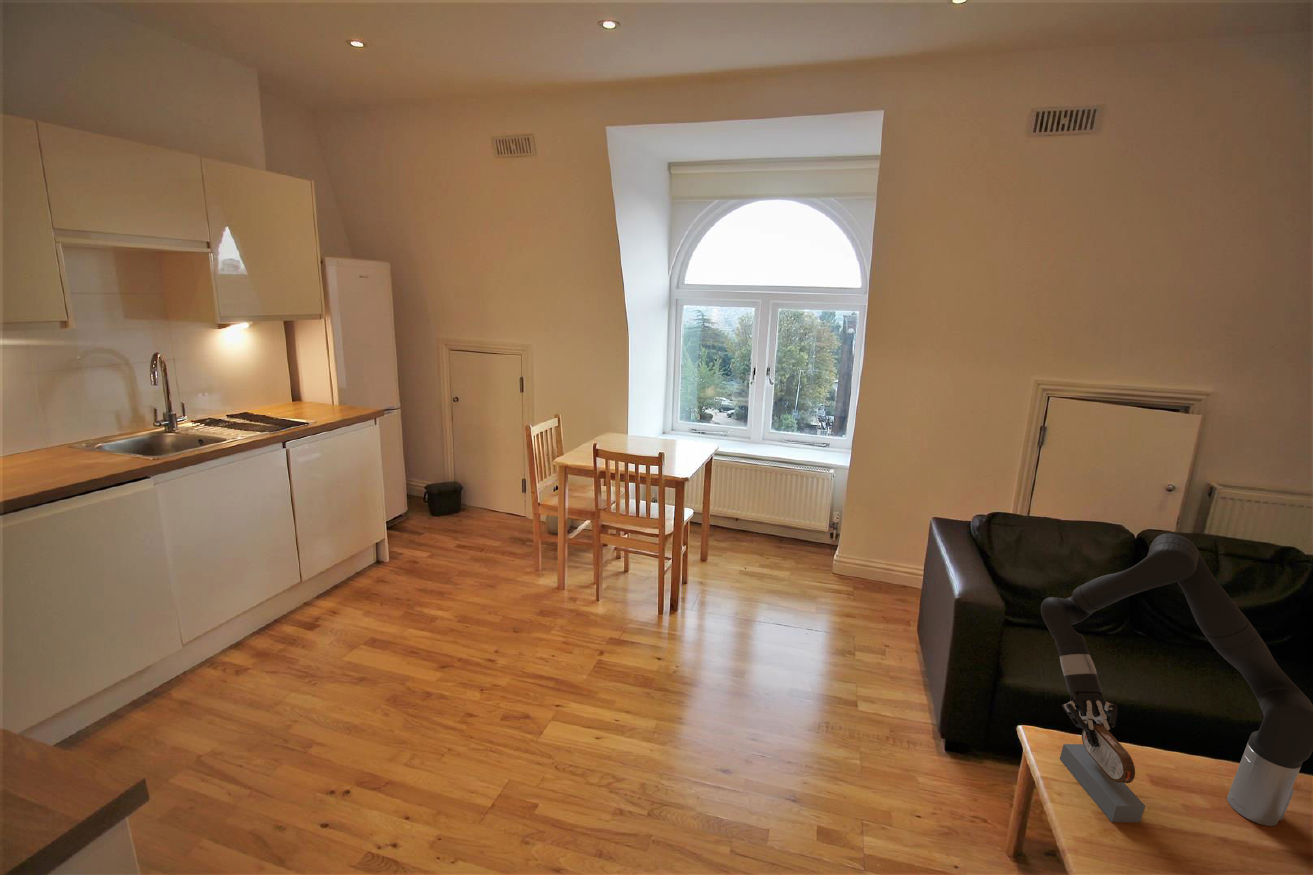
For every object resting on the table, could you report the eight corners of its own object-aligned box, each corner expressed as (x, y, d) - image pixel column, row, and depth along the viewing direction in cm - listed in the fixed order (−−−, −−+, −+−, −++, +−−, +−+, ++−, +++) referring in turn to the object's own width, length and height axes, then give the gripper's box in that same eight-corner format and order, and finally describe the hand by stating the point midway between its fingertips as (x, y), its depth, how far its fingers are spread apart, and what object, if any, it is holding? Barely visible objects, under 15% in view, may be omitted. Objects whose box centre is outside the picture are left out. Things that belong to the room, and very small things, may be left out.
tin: (1129, 791, 146) (1141, 764, 143) (1116, 790, 146) (1129, 763, 143) (1086, 742, 160) (1097, 716, 157) (1075, 741, 160) (1085, 715, 157)
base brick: (1085, 759, 164) (1089, 744, 162) (1140, 822, 146) (1145, 805, 144) (1059, 758, 164) (1063, 743, 162) (1111, 822, 145) (1116, 805, 144)
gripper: (1063, 671, 158) (1084, 746, 150) (1115, 672, 158) (1139, 746, 150) (1045, 675, 164) (1065, 746, 156) (1096, 675, 165) (1118, 747, 157)
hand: (1101, 746), depth 153 cm, fingers closed on tin, 2 cm apart
